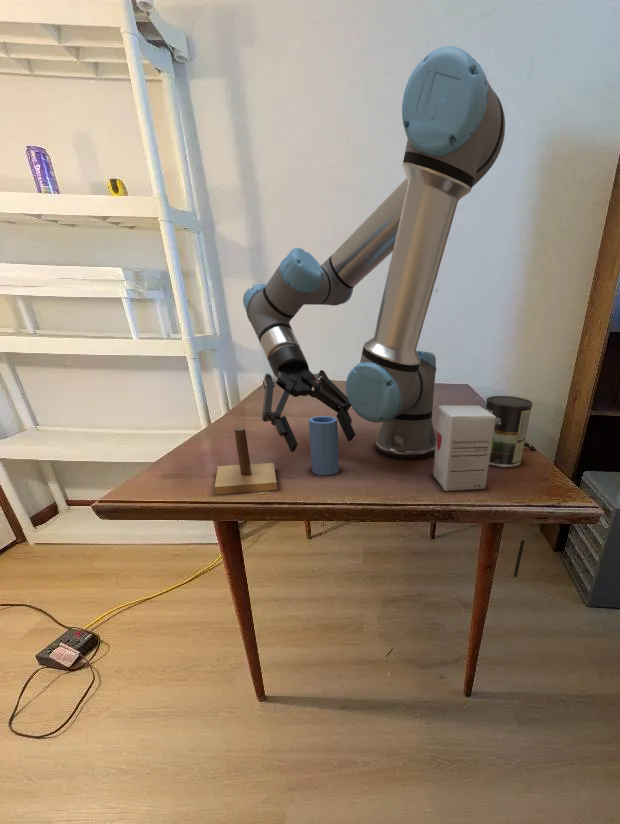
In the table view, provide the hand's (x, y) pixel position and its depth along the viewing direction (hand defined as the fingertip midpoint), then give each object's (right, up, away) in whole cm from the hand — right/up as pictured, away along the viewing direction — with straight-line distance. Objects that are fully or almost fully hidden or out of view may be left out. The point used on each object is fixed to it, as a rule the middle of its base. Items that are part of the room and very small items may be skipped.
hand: (324, 443), depth 89 cm
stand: (-15, -9, -4) cm, 17 cm away
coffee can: (+40, -1, +15) cm, 42 cm away
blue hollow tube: (0, -5, +3) cm, 6 cm away
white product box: (+28, -8, +1) cm, 29 cm away
